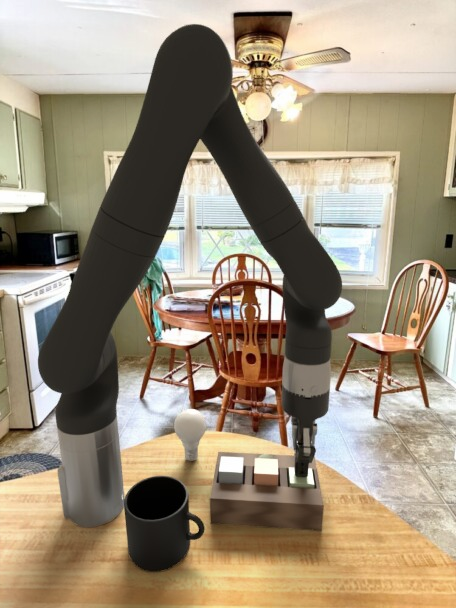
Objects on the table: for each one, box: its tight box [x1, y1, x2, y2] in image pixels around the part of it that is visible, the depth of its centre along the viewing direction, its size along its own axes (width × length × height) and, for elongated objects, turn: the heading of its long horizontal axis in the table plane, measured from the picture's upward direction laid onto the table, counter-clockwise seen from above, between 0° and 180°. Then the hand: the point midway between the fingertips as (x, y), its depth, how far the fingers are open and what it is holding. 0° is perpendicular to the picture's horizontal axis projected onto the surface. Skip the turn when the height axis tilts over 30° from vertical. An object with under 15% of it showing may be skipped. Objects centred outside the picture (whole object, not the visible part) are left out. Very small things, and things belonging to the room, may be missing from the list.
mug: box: [123, 475, 206, 573], centre depth 61 cm, size 9×12×9 cm
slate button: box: [219, 456, 244, 484], centre depth 70 cm, size 4×4×4 cm
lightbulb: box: [173, 408, 207, 462], centre depth 80 cm, size 6×6×11 cm
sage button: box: [288, 467, 314, 488], centre depth 70 cm, size 4×4×4 cm
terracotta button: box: [254, 458, 278, 486], centre depth 70 cm, size 4×4×4 cm
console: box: [209, 451, 325, 532], centre depth 70 cm, size 18×12×5 cm, turn 85°
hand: (301, 474), depth 69 cm, fingers closed
